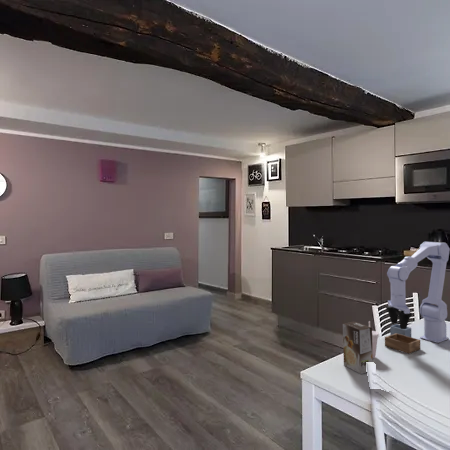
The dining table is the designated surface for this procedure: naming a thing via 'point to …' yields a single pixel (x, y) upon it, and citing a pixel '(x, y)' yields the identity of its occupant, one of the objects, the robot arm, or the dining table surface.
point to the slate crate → (400, 330)
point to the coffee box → (357, 346)
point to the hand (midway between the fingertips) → (398, 325)
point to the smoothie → (374, 341)
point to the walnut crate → (402, 343)
